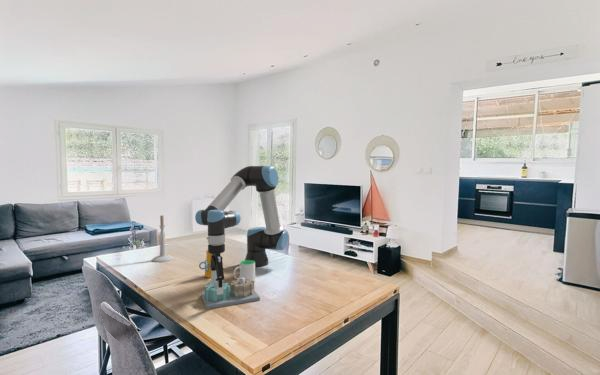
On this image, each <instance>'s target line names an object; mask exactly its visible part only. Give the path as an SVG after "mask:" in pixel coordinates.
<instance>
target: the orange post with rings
mask: <svg viewBox="0 0 600 375" xmlns="http://www.w3.org/2000/svg"><path fill="white" fill-rule="evenodd" d="M205 253H206V258H205V260H204V261H201V262H199V264H198V268H199V269H200V270H204V277H205V278H209V279H211V271H212V270H211V267H210V266H211V253H209V252H208V249H206V252H205ZM202 264H204V267H201V265H202Z"/></svg>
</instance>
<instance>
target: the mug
mask: <svg viewBox="0 0 600 375" xmlns="http://www.w3.org/2000/svg"><path fill="white" fill-rule="evenodd" d="M238 269H239V277H237V276H236V273H237V270H238ZM233 277H234V279H236V280H238V279H240V278H245V279H250V280H251V281H252V280H253V281H254V283H255V282H256V267H255V261H252V260H245V259H244V260H241V261H240V262H239V266H236V267H235V268H234V269H233Z"/></svg>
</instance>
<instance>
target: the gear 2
mask: <svg viewBox="0 0 600 375" xmlns="http://www.w3.org/2000/svg"><path fill="white" fill-rule="evenodd" d="M254 291H255V282H254V281H253V280H252V281H251V280H250V279H245V284H240V279H236V280H231V283H230V294H231V295H235V297H239V296H243V297H247V295H253V294H254Z"/></svg>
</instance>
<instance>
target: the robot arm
mask: <svg viewBox="0 0 600 375" xmlns="http://www.w3.org/2000/svg"><path fill="white" fill-rule="evenodd" d="M278 184H279V173H278V171H277V169H276V168H275V167H273V166H271V165H247V166H245V167H243V168H241V169H240V170H238V171H237V172H236V173H235V174H233V176H232V177H231V178H230V181H229V182H228V183H227V185H226V186H225V187H224V188H223V189H222V191H220V192H219V194H218V195H217V196H216V197H215V198H214V199H213V201H211V203H210V204H209V205H208V206H207V207H206V208H204V209H199V210H197V212H196V213H195V217H194V218H195V221H196V224H198V225H201V226H207V237H206V240H207V243H208V245H207V250H208V252H209V253H211V266H210V267H211V270H212V271H211V278H210V279H211V281H210V282H211V283H214V282H215V281H217V295H219V294H223V283H224V280H225V274H224V263H223V256H222V255H221V254H222V253H225V251H226V248H225V247H226V244H225V242H226V237H225V236H226V233H225V231H226V230H225V229H229V228H233V227H235V226H238V225H239V224H240V222H241V215H240V213H239V212H238V211H237V210H229V211H225V210H226V208H228V206H229V205H230V204H231V203H232V201H233V200H234V199H235V198H236V196H238V194H239V193H240V192H241V191H243V190H244V189H245V188H247V187H255V189H256V192H258V193H259V197H260V203H261V207H262V213H263V219H264V224H265V226H258V227H257V226H256V227H251V228H249V229H248V230H247V231H246V232H247V233H246V248H247V250H246V255H245V258H244V261H245V260H252V261H255V268H259V267H260V268H261V267H264V266H267V265H269V258H268V254H267V252H266V249H267V250H272V251H273V250H274V251H283V250H284V249H285V248H286V247H287V245H288V242H289V234H288V232H287V231H286V230H284V226H282V225H281V224H280V223H281V222H280V218H279V212H278V207H277V205H278V204H277V200H276V194H275V190H276V188H277V185H278Z"/></svg>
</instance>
